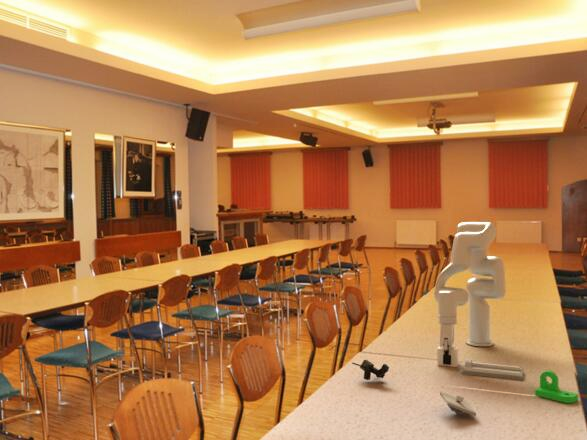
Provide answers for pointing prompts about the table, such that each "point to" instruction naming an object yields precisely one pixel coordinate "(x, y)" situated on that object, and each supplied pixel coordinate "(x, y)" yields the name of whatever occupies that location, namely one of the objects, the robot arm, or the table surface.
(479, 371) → the rail plate
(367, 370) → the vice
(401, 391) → the table surface
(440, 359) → the block
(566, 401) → the mechanical part
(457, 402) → the light switch
